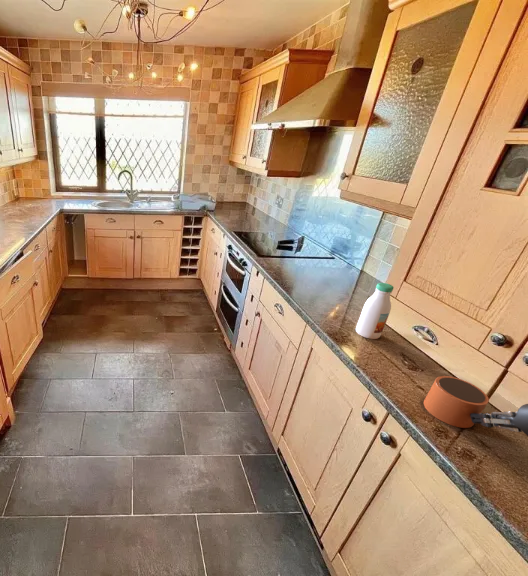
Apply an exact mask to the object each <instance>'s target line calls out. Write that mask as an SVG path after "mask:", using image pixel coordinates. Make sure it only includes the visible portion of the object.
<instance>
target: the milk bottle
mask: <svg viewBox="0 0 528 576" xmlns="http://www.w3.org/2000/svg"><path fill="white" fill-rule="evenodd" d="M393 290H394V286H393V284H390V283H387V282H379V283H377V284H376V286H375V291H374V293H372V295H371V296H370V297H368V298H367V300H366V301H365V303H364V305H363V307H362V310H361V313H360V316H359V318H358V320H357V323H356V326H355V332H356V333H357V334H358V335H359V336H361V337H363V338H366V339H369V340H376V339H379V338H380V337H381V335H382V334H383V331H384V328H385V326H386V323H387V321H388V319H389V316H390V314H391V309H392V303H391V294H392V293H393Z"/></svg>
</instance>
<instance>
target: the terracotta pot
mask: <svg viewBox="0 0 528 576" xmlns="http://www.w3.org/2000/svg"><path fill="white" fill-rule="evenodd" d="M489 402H490V398H489V396H488V395H487V394H486V392H485V391H483V390H482V389H481V388H479V387H478V386H476V385H475V384H473V383H471V382H469V381H467V380H464V379H462V378H458V377H454V376H451V375H450V376H449V375H442V376H441V375H439V376H437V377H436V378H435V380H434V381H433V384H432V385H431V387H430V389H429V390H428V392H427V395H426V396H425V398H424V399H423V406H424V408H425V409H426V411H427V412H428V413H429V414H430V415H432V416H433V417H434V418H436V419H438V420H439V421H440V422H443V423H445V424H447V425H450V426H452V427H456V428H462V429H468V428H472V427H473V426H474V425H475V423H473V422H472V420H471V417H470V414H471V413H475V414H480V413H483V411H484V410H485V408H486V407H487V406H488V404H489Z"/></svg>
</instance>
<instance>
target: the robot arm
mask: <svg viewBox="0 0 528 576" xmlns="http://www.w3.org/2000/svg"><path fill="white" fill-rule="evenodd" d="M470 417H471V420H472V422H473V423H474V424H479V425H481V426H483V427H486V428H497V429H498V430H508V431H510V432H515V433H516V432H517V433H524V435H525V436H527V437H528V403H525V404H522V405H521V406H519V407H518V409H517V411H503V412H502V411H501V412H500V411H491V413H488V412H486V413H483V412H482V413H480V414H475V413H471V414H470Z"/></svg>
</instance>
